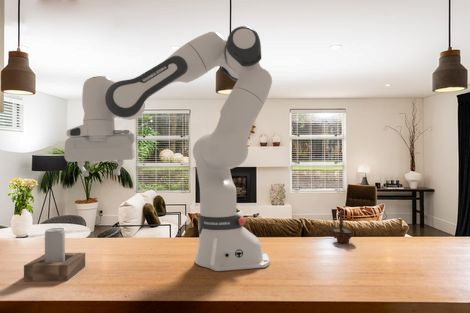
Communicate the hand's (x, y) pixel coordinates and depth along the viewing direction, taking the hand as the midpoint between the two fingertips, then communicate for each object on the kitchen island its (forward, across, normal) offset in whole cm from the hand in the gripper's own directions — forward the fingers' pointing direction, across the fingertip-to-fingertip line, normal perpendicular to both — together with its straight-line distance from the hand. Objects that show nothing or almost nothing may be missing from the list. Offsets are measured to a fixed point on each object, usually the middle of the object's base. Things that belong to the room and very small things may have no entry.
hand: (101, 175), depth 102 cm
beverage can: (+26, +10, +11) cm, 30 cm away
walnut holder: (+26, +9, +11) cm, 29 cm away
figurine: (+29, -80, -16) cm, 87 cm away
